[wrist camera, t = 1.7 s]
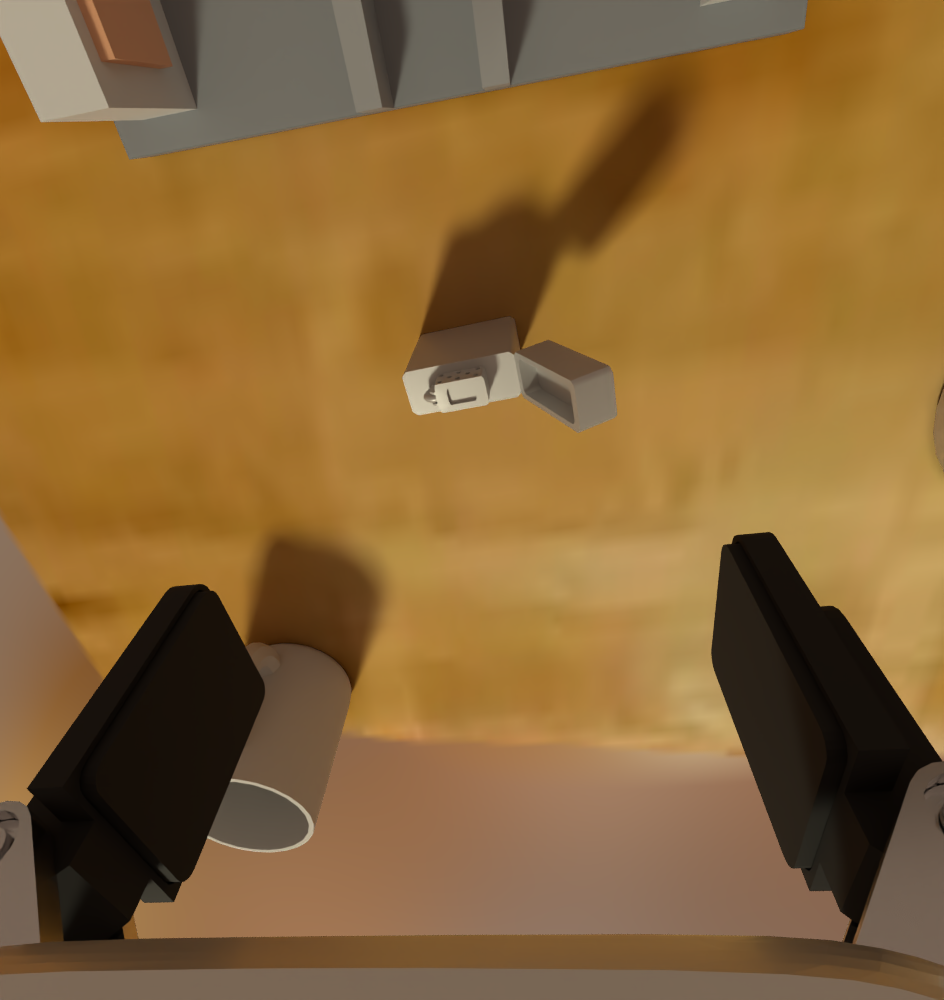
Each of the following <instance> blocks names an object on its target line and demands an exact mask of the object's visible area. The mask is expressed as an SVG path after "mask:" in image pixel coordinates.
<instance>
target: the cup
mask: <svg viewBox="0 0 944 1000" xmlns="http://www.w3.org/2000/svg"><path fill="white" fill-rule="evenodd" d="M245 647H246V649H247V651H248V653H249V655H250V656H251V658H252V660H253V662H254V664H255V666H256V668H257V670H258V671H259V673H260V675H261V677H262V679H263V681H264V684H265V697H264V700H263V703H262V705H261V708H260V710H259V713H258V715H257V718H256V720H255V722H254V725H253V727H252V730H251V732H250V735H249V737H248V739H247V742H246V744H245V747H244V749H243V752H242V754H241V757H240V759H239V761H238V764H237V766H236V769H235V771H234V774H233V776H232V778H231V781H230V783H229V786H228V788H227V791H226V793H225V795H224V798H223V800H222V803H221V805H220V808H219V810H218V812H217V815H216V817H215V820H214V822H213V825H212V827H211V830H210V832H209V834H208V837H207V838H208V839H211V840H213V841H215V842H217V843H220V844H223V845H227V846H230V847H233V848H237V849H242V850H248V851H254V852H279V851H286V850H290V849H293V848H297V847H299V846H301V845H302V844H304V843H306V842H307V841H308V840H309V838H310V837H311V836H312V835H313V832H314V828H315V825H316V821H317V818H318V814H319V811H320V807H321V804H322V800H323V797H324V793H325V790H326V786H327V782H328V779H329V775H330V772H331V768H332V765H333V761H334V758H335V754H336V750H337V747H338V743H339V740H340V736H341V733H342V729H343V726H344V722H345V719H346V715H347V711H348V708H349V703H350V698H351V691H352V689H351V685H350V681H349V678H348V676H347V674H346V673H345V671H344V669H343V668H342V666H341V665H339V664H338V663H337V662H336V661H335V660H334V659H333V658H331V657H330V656H328V655H327V654H325V653H323V652H322V651H319V650H316V649H314V648H311V647H309V646H304V645H299V644H290V643H280V644H274V645H266V644H264V643H261V642H258V643H251V644H249V645H247V646H245Z"/></svg>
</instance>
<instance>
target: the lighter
mask: <svg viewBox="0 0 944 1000" xmlns="http://www.w3.org/2000/svg"><path fill="white" fill-rule="evenodd" d="M402 378H403V381H404V385H405V388H406V391H407V394H408V398H409V401H410V404H411V408H412V411H413V412H414V413H415V414H417V415H423V414H428V413H434V412H439V411H441V412H442V413H446V412H451V411H457V410H462V409H468V408H473V407H478V406H484V405H488V403H489V402H493V401H499V400H504V399H509V398H515V397H518V396H519V395H520V393H522V395H523V397H524V398H525V399H527V400H528V401H530V402H531V403H533V404H535V405H536V406H538V407H539V408H541V409H542V410H544V411H545V412H547V413H548V414H550V415H551V416H553V417H555V418H556V419H558V420H559V421H561V422H562V423H564V424H565V425H567V426H568V427H570V428H571V429H573V430H574V431H576V432H578V433H579V432H581V431H584V430H586V429H589V428H591V427H594V426H596V425H598V424H601V423H603V422H606V421H608V420H611V419H613V418H615V417H616V416H617V408H616V398H615V388H614V378H613V372H612V370H611V368H610V367H609V366H608V365H606V364H604V363H601V362H599V361H597V360H594V359H592V358H590V357H587V356H585V355H583V354H580V353H578V352H576V351H573V350H571V349H569V348H566V347H564V346H562V345H559V344H557V343H555V342H553V341H550V340H547V341H544V342H541V343H538V344H536V345H533V346H530V347H527V348H525V349H522V350H520V345H519V339H518V334H517V329H516V323H515V319H513V318H512V317H510V316H508V317H503V318H499V319H494V320H489V321H484V322H479V323H475V324H470V325H465V326H460V327H456V328H451V329H446V330H441V331H437V332H432V333H427V334H422V335H421V336H420V338H419V340H418V342H417V345H416V347H415V349H414V352H413V354H412V356H411V359H410V361H409V363H408V366H407V368H406V370H405V373H404V375H403V377H402Z"/></svg>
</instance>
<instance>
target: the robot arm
mask: <svg viewBox="0 0 944 1000" xmlns="http://www.w3.org/2000/svg"><path fill="white" fill-rule="evenodd" d="M933 435H934V443H935V451H936V456H937V458H938V460H939V463H940V465H941V467H942V469H943V472H944V389H943V392H942V394H941V397H940V400H939V403H938V406H937V409H936V416H935V424H934V431H933ZM711 654H712V663H713V667H714V671H715V674H716V676H717V679H718V682H719V684H720V687H721V690H722V692H723V695H724V698H725V700H726V703H727V706H728V708H729V711H730V714H731V716H732V719H733V722H734V724H735V727H736V730H737V732H738V735H739V738H740V740H741V743H742V746H743V749H744V751H745V754H746V757H747V759H748V762H749V764H750V767H751V770H752V772H753V775H754V778H755V781H756V783H757V786H758V789H759V791H760V794H761V796H762V799H763V802H764V805H765V807H766V810H767V813H768V815H769V818H770V821H771V823H772V826H773V829H774V831H775V834H776V837H777V839H778V842H779V845H780V847H781V850H782V853H783V855H784V857H785V860H786V862H787V863H788V865H789V866H790V867H791V868H801V870H802V873H803V875H804V878H805V880H806V883H807V885H808V888H809V890H810V891H832V893H833V895H834V897H835V899H836V902H837V904H838V907H839V909H840V911H841V912H842V913H843V914H845V915H846V916H847V917H849V918H850V920H849V923H848V926H847V929H846V932H845V934H844V937H843V940H842V942H838V941H832V940H819V939H803V938H787V937H772V936H729V935H728V936H726V935H661V934H655V935H654V934H627V935H626V934H616V935H615V934H614V935H613V934H612V935H611V934H610V935H609V934H607V935H605V934H602V935H427V936H426V935H422V936H421V935H415V936H315V937H314V936H311V937H309V936H308V937H238V938H237V937H236V938H235V937H231V938H165V939H164V938H163V939H138V934H137V929H136V925H135V920H134V915H133V914H134V911H135V909H136V907H137V905H138V903H139V901H140V899H141V900H142V901H143V902H144V903H148V902H149V903H152V902H153V903H154V902H174V900H175V898H176V895H177V893H178V891H179V888H180V886H181V883H182V882H184V881H185V880H187V879H188V878H189V877H190V875H191V874H192V872H193V870H194V868H195V865H196V863H197V861H198V859H199V856H200V854H201V851H202V849H203V846H204V844H205V841H206V839H207V837H208V834H209V832H210V830H211V827H212V825H213V822H214V820H215V817H216V815H217V812H218V810H219V808H220V805H221V803H222V800H223V798H224V795H225V793H226V791H227V788H228V786H229V783H230V781H231V778H232V776H233V774H234V771H235V769H236V766H237V764H238V761H239V759H240V757H241V754H242V752H243V749H244V747H245V744H246V742H247V739H248V737H249V735H250V732H251V730H252V727H253V725H254V722H255V720H256V718H257V715H258V713H259V710H260V708H261V705H262V703H263V700H264V697H265V684H264V681H263V679H262V677H261V675H260V673H259V671H258V670H257V668H256V666H255V664H254V662H253V660H252V658H251V656H250V655H249V653H248V651H247V649H246V647H245V645H244V643H243V641H242V640H241V638H240V636H239V634H238V632H237V630H236V628H235V626H234V625H233V623H232V621H231V619H230V617H229V615H228V613H227V611H226V610H225V608H224V606H223V604H222V602H221V600H220V598H219V596H218V595H217V594H216V593H215V592H214V591H210V590H209V589H208V587H207V586H205V585H203V584H196V585H185V586H175V587H172V588H169V590H168V591H167V592H166V593H165V594H164V596H163V597H162V598H161V600H160V601H159V603H158V604H157V605H156V607H155V608H154V610H153V611H152V612H151V614H150V615H149V617H148V618H147V620H146V621H145V622H144V624H143V625H142V627H141V628H140V629H139V631H138V632H137V634H136V635H135V637H134V638H133V639H132V641H131V642H130V644H129V645H128V646H127V648H126V649H125V651H124V652H123V653H122V655H121V656H120V658H119V659H118V661H117V662H116V663H115V665H114V666H113V668H112V669H111V670H110V672H109V673H108V675H107V676H106V678H105V679H104V680H103V682H102V683H101V685H100V686H99V687H98V689H97V690H96V692H95V693H94V694H93V696H92V698H91V699H90V700H89V702H88V703H87V704H86V706H85V707H84V709H83V710H82V712H81V713H80V714H79V716H78V717H77V719H76V720H75V721H74V723H73V724H72V726H71V727H70V728H69V730H68V731H67V733H66V734H65V736H64V737H63V738H62V740H61V741H60V743H59V744H58V745H57V747H56V748H55V750H54V751H53V752H52V754H51V755H50V757H49V758H48V760H47V761H46V762H45V764H44V765H43V767H42V768H41V769H40V771H39V772H38V774H37V775H36V777H35V778H34V780H33V781H32V782H31V784H30V785H29V786H28V788H27V789H28V790H29V791H30V792H31V793H32V794H33V795H34V796H33V798H32V799H31V801H30V802H29V804H28V805H27V806H25V805H24V804H22V803H21V802H16V801H5V802H2V803H0V1000H944V761H942V760H941V758H940V757H939V755H938V754H937V753H936V751H935V750H934V748H933V747H932V745H931V744H930V742H929V741H928V739H927V738H926V736H925V735H924V733H923V732H922V730H921V729H920V727H919V726H918V724H917V723H916V721H915V720H914V718H913V717H912V715H911V714H910V712H909V711H908V709H907V708H906V706H905V705H904V704H903V702H902V701H901V699H900V698H899V696H898V695H897V693H896V692H895V690H894V689H893V687H892V686H891V684H890V683H889V681H888V680H887V678H886V677H885V675H884V674H883V672H882V671H881V669H880V668H879V666H878V665H877V663H876V662H875V660H874V659H873V657H872V656H871V655H870V653H869V652H868V650H867V649H866V647H865V646H864V644H863V643H862V641H861V640H860V638H859V637H858V635H857V634H856V632H855V631H854V629H853V628H852V626H851V625H850V623H849V622H848V620H847V619H846V617H845V616H844V615H843V614H842V613H841V611H840V610H839V609H837V608H835V607H834V606H822V607H820V606H819V604H818V603H817V601H816V599H815V598H814V596H813V595H812V593H811V592H810V590H809V588H808V587H807V585H806V584H805V582H804V581H803V579H802V577H801V576H800V574H799V573H798V571H797V570H796V568H795V566H794V565H793V563H792V562H791V560H790V559H789V557H788V555H787V554H786V552H785V551H784V549H783V548H782V546H781V544H780V543H779V541H778V540H777V538H776V537H775V536H774V534H773V533H770V532H765V533H754V534H743V535H736V536H734V538H733V541H732V544H727V545H723V547H722V551H721V560H720V570H719V580H718V590H717V600H716V610H715V620H714V630H713V640H712V651H711Z"/></svg>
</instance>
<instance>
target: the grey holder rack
mask: <svg viewBox="0 0 944 1000" xmlns="http://www.w3.org/2000/svg"><path fill="white" fill-rule="evenodd" d="M807 1H808V0H0V36H1V38H2V41H3V43H4V45H5V47H6V49H7V51H8V53H9V55H10V57H11V60H12V62H13V64H14V66H15V68H16V70H17V72H18V74H19V77H20V79H21V81H22V83H23V85H24V87H25V89H26V91H27V94H28V96H29V98H30V100H31V102H32V104H33V106H34V108H35V110H36V113H37V115H38V117H39V119H40V121H41V122H70V121H114V123H115V126H116V128H117V130H118V133H119V135H120V138H121V140H122V142H123V145H124V147H125V150H126V152H127V155H128V157H129V159H137V158H146V157H153V156H158V155H163V154H169V153H174V152H179V151H184V150H189V149H194V148H200V147H205V146H210V145H215V144H220V143H225V142H231V141H236V140H241V139H246V138H251V137H256V136H262V135H267V134H272V133H277V132H282V131H287V130H293V129H298V128H303V127H308V126H313V125H318V124H323V123H329V122H334V121H339V120H344V119H349V118H354V117H360V116H365V115H370V114H375V113H380V112H385V111H391V110H396V109H401V108H406V107H411V106H416V105H422V104H427V103H432V102H437V101H442V100H447V99H453V98H458V97H463V96H468V95H473V94H478V93H484V92H489V91H494V90H499V89H504V88H509V87H514V86H520V85H525V84H530V83H535V82H540V81H545V80H551V79H556V78H561V77H566V76H571V75H576V74H582V73H587V72H592V71H597V70H602V69H607V68H613V67H618V66H623V65H628V64H633V63H638V62H644V61H649V60H654V59H659V58H664V57H669V56H675V55H680V54H685V53H690V52H695V51H700V50H705V49H711V48H716V47H721V46H726V45H731V44H736V43H742V42H747V41H752V40H757V39H762V38H767V37H773V36H778V35H783V34H787V33H790V32H794V31H797V30H801V29H804V26H805V17H806V9H807Z"/></svg>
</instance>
